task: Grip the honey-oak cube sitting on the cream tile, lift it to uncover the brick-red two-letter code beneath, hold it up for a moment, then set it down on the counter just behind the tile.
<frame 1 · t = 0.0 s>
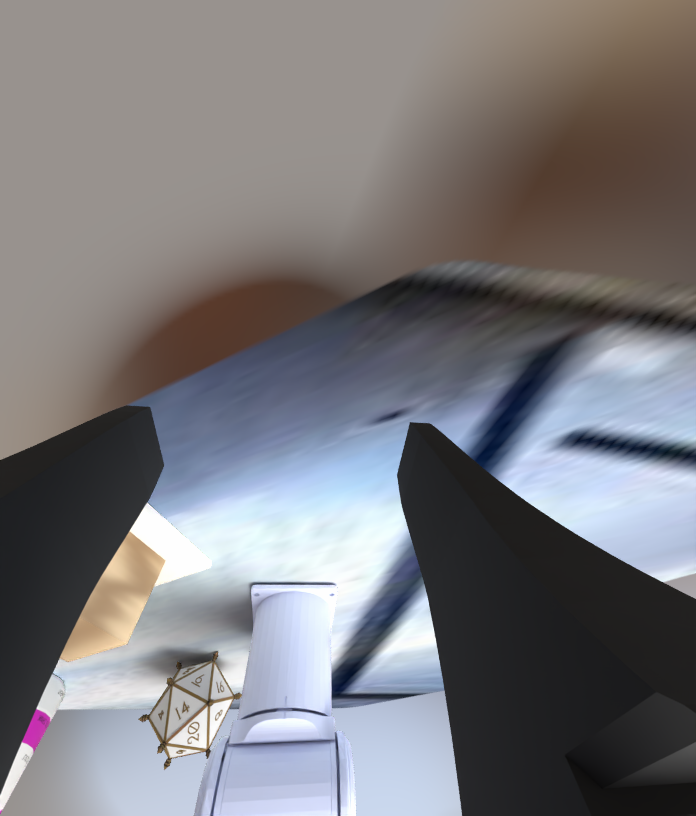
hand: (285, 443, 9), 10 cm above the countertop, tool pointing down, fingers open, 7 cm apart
oak cube: (118, 552, 26), point 1 cm above the countertop, touching code tile
game die: (205, 659, 37), on the countertop
code tile: (122, 545, 26), on the countertop
supplement can: (31, 678, 37), on the countertop
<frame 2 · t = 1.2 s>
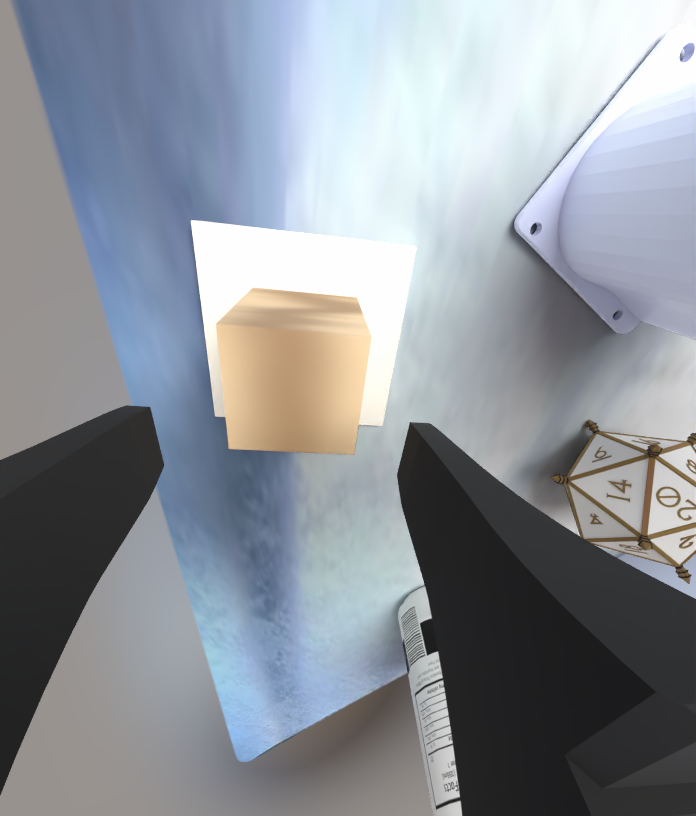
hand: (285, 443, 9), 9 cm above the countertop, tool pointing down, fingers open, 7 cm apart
oak cube: (303, 342, 17), point 1 cm above the countertop, touching code tile
game die: (586, 450, 23), on the countertop
code tile: (304, 338, 17), on the countertop
supplement can: (436, 600, 32), on the countertop
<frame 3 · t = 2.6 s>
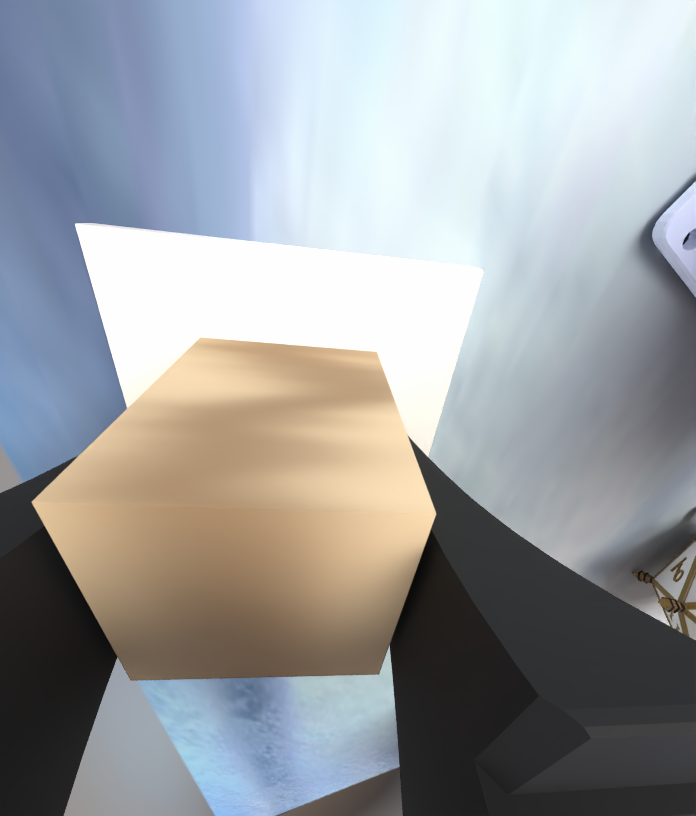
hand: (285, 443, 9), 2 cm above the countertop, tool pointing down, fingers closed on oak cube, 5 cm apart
oak cube: (289, 417, 10), point 1 cm above the countertop, touching code tile, gripper
game die: (683, 539, 17), on the countertop
code tile: (291, 408, 11), on the countertop
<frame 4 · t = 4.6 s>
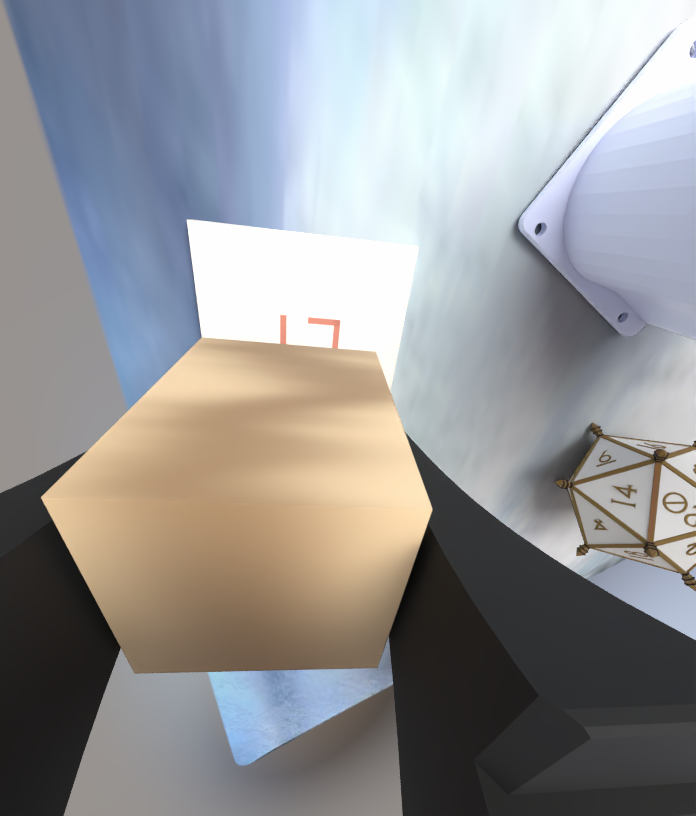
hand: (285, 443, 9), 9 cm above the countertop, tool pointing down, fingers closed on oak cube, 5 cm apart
oak cube: (290, 416, 11), point 7 cm above the countertop, touching gripper
game die: (589, 454, 23), on the countertop
code tile: (303, 340, 17), on the countertop
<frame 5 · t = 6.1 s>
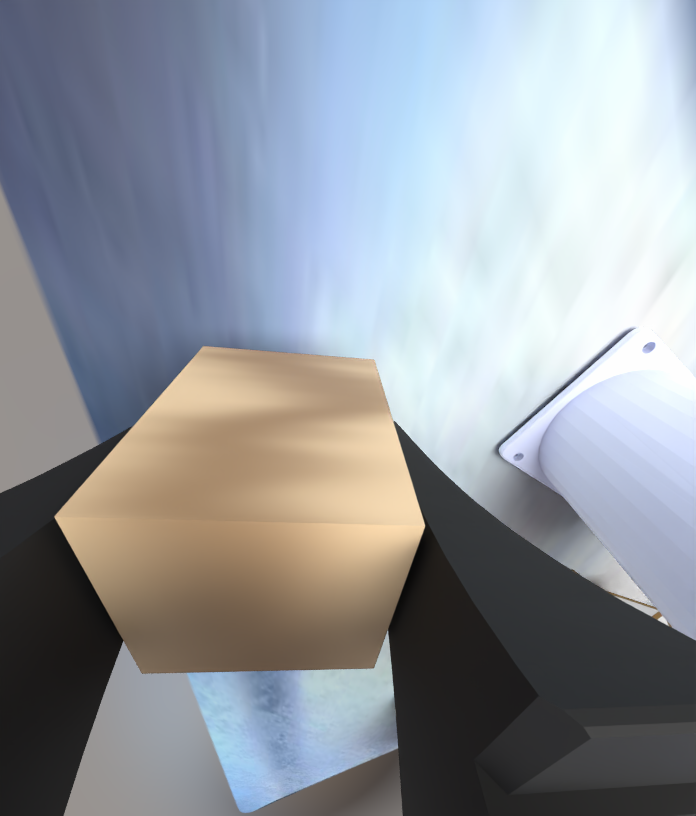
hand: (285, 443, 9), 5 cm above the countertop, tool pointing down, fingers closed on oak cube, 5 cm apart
oak cube: (290, 422, 11), point 4 cm above the countertop, touching gripper
game die: (571, 588, 25), on the countertop
when the fingers open (2 cm above the countertop, at t = 7.1 s): oak cube stays where it is, on the countertop.
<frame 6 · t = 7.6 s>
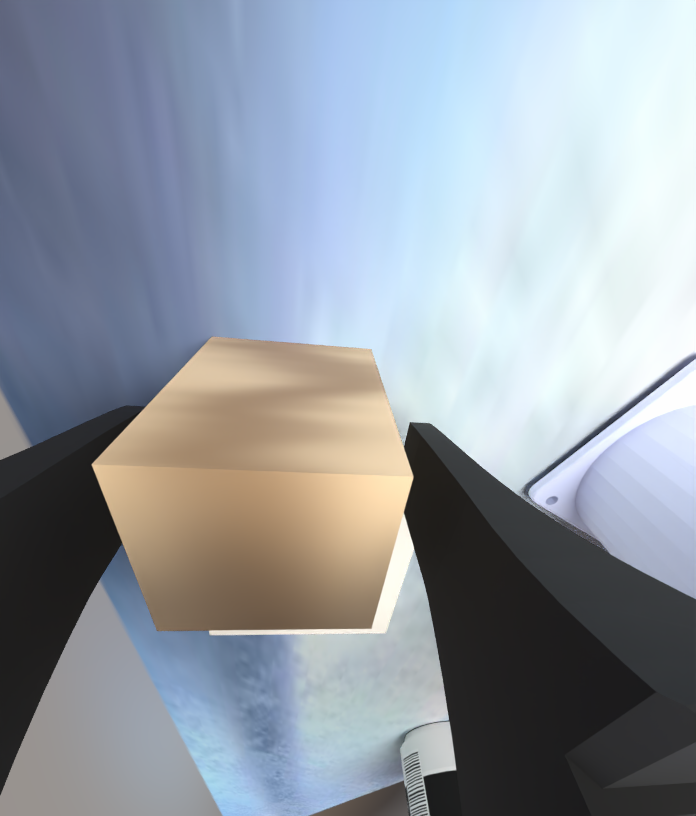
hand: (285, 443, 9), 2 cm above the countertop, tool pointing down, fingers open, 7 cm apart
oak cube: (292, 409, 12), on the countertop
code tile: (304, 572, 16), on the countertop
supplement can: (440, 731, 31), on the countertop
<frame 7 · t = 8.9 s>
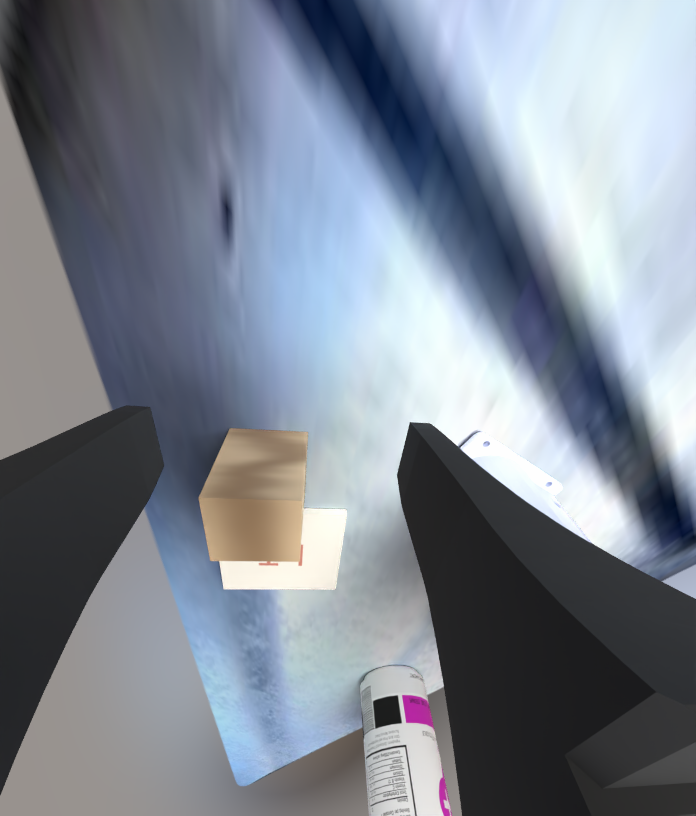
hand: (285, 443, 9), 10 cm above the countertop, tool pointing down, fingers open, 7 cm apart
oak cube: (270, 459, 22), on the countertop
code tile: (281, 548, 27), on the countertop
supplement can: (390, 675, 42), on the countertop
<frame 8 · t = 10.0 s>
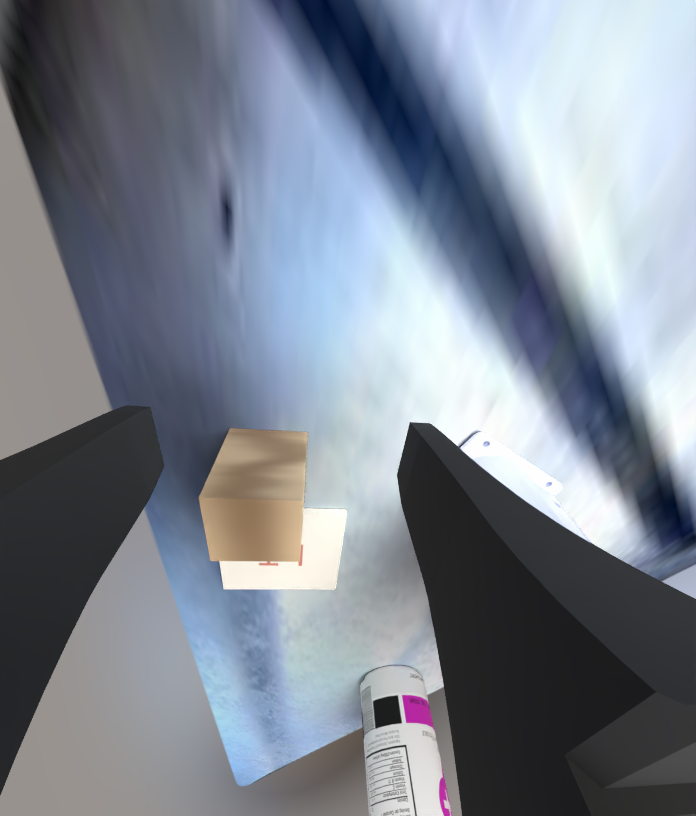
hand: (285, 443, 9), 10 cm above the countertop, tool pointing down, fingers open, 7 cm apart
oak cube: (270, 459, 22), on the countertop
code tile: (281, 548, 27), on the countertop
supplement can: (390, 675, 42), on the countertop
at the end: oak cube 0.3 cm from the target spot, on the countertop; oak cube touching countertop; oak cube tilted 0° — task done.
